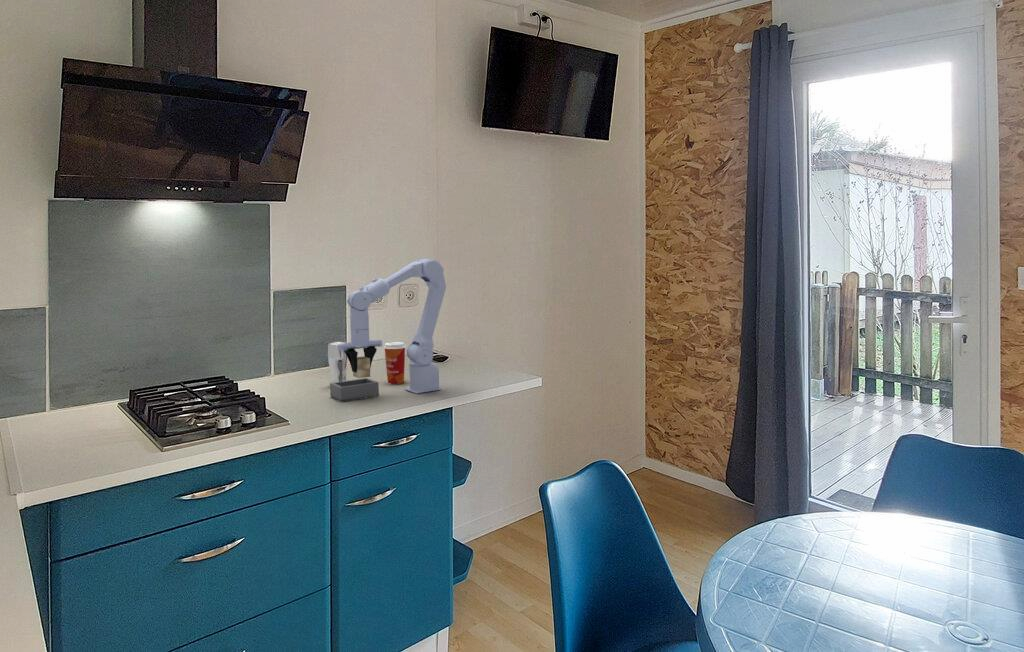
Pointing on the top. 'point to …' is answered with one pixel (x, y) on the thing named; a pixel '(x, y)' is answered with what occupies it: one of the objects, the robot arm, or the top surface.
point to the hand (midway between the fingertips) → (361, 370)
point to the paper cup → (395, 361)
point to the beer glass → (337, 362)
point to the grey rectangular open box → (354, 389)
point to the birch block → (362, 367)
